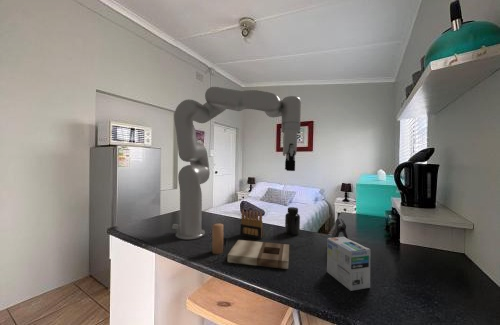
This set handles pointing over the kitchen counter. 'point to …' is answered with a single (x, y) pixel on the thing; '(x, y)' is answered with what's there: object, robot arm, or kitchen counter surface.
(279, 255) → the plywood deck
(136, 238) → the kitchen counter surface
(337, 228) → the phone stand
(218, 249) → the peg
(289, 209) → the supplement bottle
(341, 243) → the light bulb box
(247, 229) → the ammunition clip
